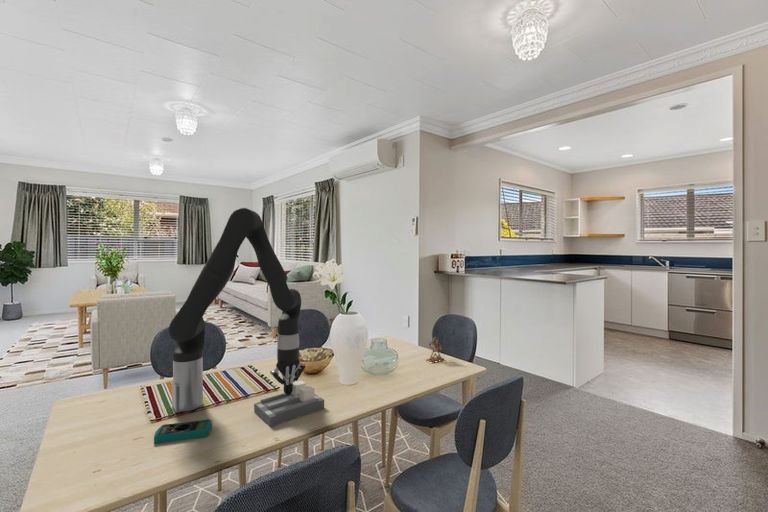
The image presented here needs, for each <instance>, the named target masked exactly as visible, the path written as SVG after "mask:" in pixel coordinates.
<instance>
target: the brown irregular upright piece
mask: <svg viewBox="0 0 768 512" xmlns="http://www.w3.org/2000/svg"><path fill="white" fill-rule="evenodd" d="M439 341H440V339H439V337H436V336H434V337H433V338H432V340H431V341H429V342H428V346H429V348H431V349H432V352H431V355H430V357H429V358H427V359H425V360H426V361H425V362H427V361H429V362H435V361H439V360H444V361H445V358H444V357H442V356H441V354H440V351H441V350H442V349H443V345H442V344H441V343H439ZM438 345H439V346H438ZM432 346H433V347H432ZM436 352H437V353H436ZM437 354H438V355H437ZM429 362H428V363H429ZM435 363H436V362H435Z"/></svg>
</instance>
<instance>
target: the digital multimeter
mask: <svg viewBox="0 0 768 512" xmlns="http://www.w3.org/2000/svg"><path fill="white" fill-rule="evenodd" d="M211 429H212V419H209V418H208V419H207V418H206V419H200V420H193V421H185V422H184V421H183V422H175V423H165V424H162V425H160V427H158V428H157V430H155V432H154V434H153V443H154V444H155V445H157V444H162V443H168V442H169V443H171V442H177V441H183V440H190V439H191V440H192V439H200V438H201V439H202V438H207V437H208V436H209V434H210V432H211Z"/></svg>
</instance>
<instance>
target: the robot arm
mask: <svg viewBox="0 0 768 512" xmlns="http://www.w3.org/2000/svg"><path fill="white" fill-rule="evenodd" d="M227 219H228V220H227V222H226V224H225V227H224V229H223V231H222V233H221V236H220V237H219V240H218V242H217V243H216V246H215V247H214V249H213V250H212V252H211V254H210V255H209V258H208V259H207V260H206V262H205V264H204V265H203V268H202V269H201V271H200V272H199V273H200V274H199V275H198V277H197V279H196V281H195V283H194V285H193V286H192V288H191V291H190V292H189V294H188V296H187V298H186V300H185V302H184V303H183V305H182V306H181V307H180V309H179V310H178V312H177V313H176V314H175V316H174V317H173V318H172V320H171V322H170V323H169V327H168V334H169V336H170V338H171V340H173V341H175V342H176V344H175V345H176V346H175V348H174V350H173V352H172V380H171V407H172V409H173V410H174V412H175V413H178V412H179V413H180V412H182V413H183V412H189V411H193V410H196V409H198V408H200V407H201V406H202V405H203V404H204V387H203V386H204V385H203V383H204V381H203V380H204V378H203V377H204V373H203V368H204V367H203V366H204V365H203V363H204V362H203V358H204V357H203V355H204V354H203V352H204V348H205V338H206V324H205V320H204V318H203V317H204V315H205V313H206V311H207V310H208V308H209V307H210V305H211V304H212V303H213V302H214V301H215V300H216V299H217V297H218V296H219V295H220V294H221V293H222V291H223V290H224V289H225V287H226V286H227V284H228V282H229V279H230V278H231V276H232V274H233V273H234V270H235V266H236V260H237V256H238V251H239V249H240V248H241V246H242V244H243V242H244V241H245V239H247V240H248V241H249V243H250V244H251V246H252V248H253V251H254V252H255V256H256V258H257V263H258V267H259V269H260V271H261V273H262V275H263V277H264V280H265V281H266V282H267V284H268V287H269V290H270V295H271V298H272V301H273V303H274V305H275V306H276V308H277V309H279V310H280V311H282V312H281V315H280V317H279V319H278V323H277V339H276V341H277V343H276V345H277V346H276V347H277V349H276V354H277V355H276V359H277V362H276V366H275V368H274V369H273V370H270V372H269V374H271V376H272V377H273V378H274V379H275V380H276V381H277V382H278V384H280V385H282V386H283V393H285V394H287V395H289V394H291V392H292V391H293V383H294V382H298V381H299V380H298V379H300V377H301V375H302V373H303V371H304V370H305V369H306V365H305V364H303V363H301V362H300V361H301V360H300V336H299V317H300V314H301V310H302V309H301V308H302V296H301V294H300V291H299V290H297V289H295V288H289V286H288V284H287V281H288V275H287V273H286V271H285V269H284V267H283V265H282V264H281V262H280V260H279V259H278V257H277V255H276V253H275V250H274V249H273V247H272V245H271V243H270V240H269V237H268V235H267V232H266V229H265V226H264V224H263V221H262V217H261V216H260V214H258V213H257V212H256V211H254V210H252V209H249V208H247V207H239V208H238V207H237V209H235V210H234V211H233V212H232V213H231V214H230V215H229V217H228V218H227ZM279 373H280V374H281V377H280V376H279Z"/></svg>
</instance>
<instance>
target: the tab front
mask: <svg viewBox="0 0 768 512" xmlns="http://www.w3.org/2000/svg"><path fill="white" fill-rule="evenodd" d="M314 394H315V388H314V387H313V386H311V385H306V387H304V388H301V389H300V400H301V401H302V402H305V401H308V400H311V399H314Z"/></svg>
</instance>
